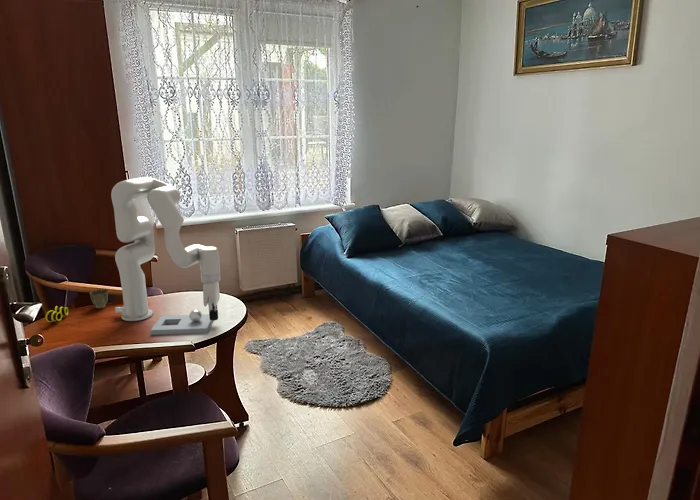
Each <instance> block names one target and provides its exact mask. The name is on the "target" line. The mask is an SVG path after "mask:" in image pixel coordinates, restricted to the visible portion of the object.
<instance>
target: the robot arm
mask: <svg viewBox="0 0 700 500" xmlns="http://www.w3.org/2000/svg"><path fill="white" fill-rule="evenodd" d="M110 195H111V201H112V206H113V211H114V222H115V231H116V237H117V240H119V241H120V242H122V243H129V244H126V245H124V246H121V247H120V248H118V249H117V250H116V252H115V255H114V258H115V259H114V260H115V263H116V267H117V269H118V272H119V277H120V284H121V293H122V302H123V306H115V308H114V311H115V314H120V313H121V317H120V318H121V319H122V320H124V321H125V322H139V321H142V320H145V319H149V318H150V317H152V316H153V315H154V311H153V310H152V309H151V308H149V302H148V300H149V299H148V293H147V286H146V285H147V284H146V283H147V282H146V276H145V273H144V271H143V269H142V268H141V265H143V264H145V263H147V262H149V261H151V260H152V259H153V258H154V257H155V252H156V250H155V249H156V248H155V237H154V236H155V235H154V234H155V233H154V227H153V224H152V222H151V220H149V218H148V217H146V216H143V215H138V210H137V207H136V204H135V203H134V202H133V201H137V200H142V199H146V201H147V202H148V204H149V206H150V208H151V210H152V211H153V212H154V214H155V216H156V218H157V219H158V221H159V222H160V225H161V226H162V227H163V231H164V235H163V236H164V237H163V239H164V245H165V248H166V251H167V253H168V254H169V256H170V258H171V259H172V261H173V262H174V263H175V264H176V265H177V266H178V267H179V268H183V269H187V268H190V267H191V266H194V265H196V264H198V263H199V269H200V280H201V283H203V285H202V298H203V299H202V300H203V301H202V302H203V307H207V305H208V314H209V317H210V320H213V321H218V320H219V311H218V303H219V301H220V298H221V297H220V295H221V294H220V286H219V285H220V284H219V282H221V267H220V266H221V265H220V255H219V254H220V253H219V249H218V247H216V246H213V245H211V246H209V245H208V246H205V245H202V244H199V243H198V244H197V243H194V244H191V245H188V246H186V247H185V246H184V245H183V243H182V241H181V237H180V229H181V228H182V225H183V224H184V217H183V215H182V213H181V212H180V211H179V209H178V207H177V206H176V205H178V204H179V203H180V201H181V194H180V191H179V190H178V189H177V188H176V187H175V186H173V185H171V184H168V183H166V182H164V181H162V180H158V179H156V178H154V177H151V176H142V177H136V178H128V179H125V180H122V181H119V182H117V183H116V184H115V185H114V186H113V187H112V188H111V194H110ZM131 242H132V243H131Z"/></svg>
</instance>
